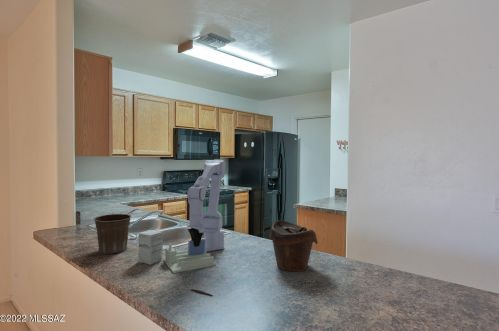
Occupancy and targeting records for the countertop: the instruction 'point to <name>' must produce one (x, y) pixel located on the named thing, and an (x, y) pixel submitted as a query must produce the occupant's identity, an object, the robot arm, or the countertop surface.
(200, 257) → the dish rack
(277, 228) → the brown covered basket
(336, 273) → the countertop surface
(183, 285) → the fork
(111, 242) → the plant pot
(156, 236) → the supplement box
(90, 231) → the countertop surface
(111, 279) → the countertop surface
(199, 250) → the slate blue tile
